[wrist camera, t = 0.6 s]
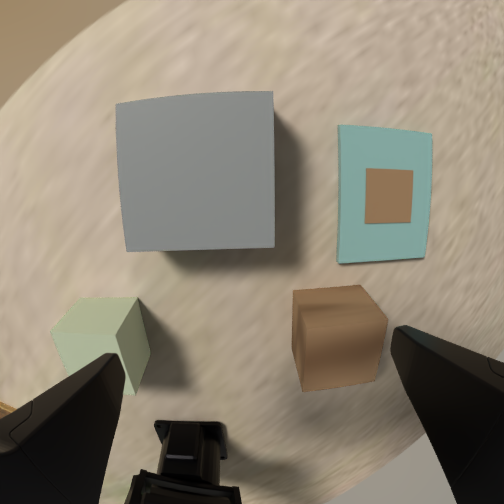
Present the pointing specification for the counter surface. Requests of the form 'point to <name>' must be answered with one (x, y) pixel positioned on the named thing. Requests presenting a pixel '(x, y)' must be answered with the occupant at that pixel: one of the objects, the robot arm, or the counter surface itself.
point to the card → (383, 193)
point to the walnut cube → (336, 337)
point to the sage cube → (104, 336)
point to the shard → (5, 409)
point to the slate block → (197, 171)
